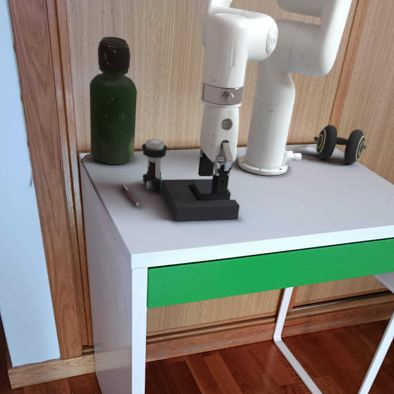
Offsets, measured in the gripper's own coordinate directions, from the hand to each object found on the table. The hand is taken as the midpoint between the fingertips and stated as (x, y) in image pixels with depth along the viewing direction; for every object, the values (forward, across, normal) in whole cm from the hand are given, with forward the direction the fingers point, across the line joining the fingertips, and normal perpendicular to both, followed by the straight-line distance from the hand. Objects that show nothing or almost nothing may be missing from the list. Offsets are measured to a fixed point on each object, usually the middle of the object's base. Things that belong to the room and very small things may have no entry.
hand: (211, 184), depth 103 cm
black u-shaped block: (+4, 0, +2) cm, 5 cm away
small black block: (+4, 0, 0) cm, 5 cm away
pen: (+5, +5, +16) cm, 18 cm away
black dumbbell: (-1, +22, -42) cm, 47 cm away
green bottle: (+4, +29, +17) cm, 33 cm away
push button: (+5, +10, +11) cm, 15 cm away
